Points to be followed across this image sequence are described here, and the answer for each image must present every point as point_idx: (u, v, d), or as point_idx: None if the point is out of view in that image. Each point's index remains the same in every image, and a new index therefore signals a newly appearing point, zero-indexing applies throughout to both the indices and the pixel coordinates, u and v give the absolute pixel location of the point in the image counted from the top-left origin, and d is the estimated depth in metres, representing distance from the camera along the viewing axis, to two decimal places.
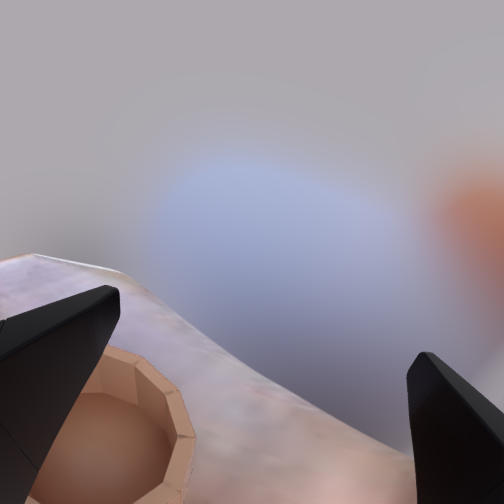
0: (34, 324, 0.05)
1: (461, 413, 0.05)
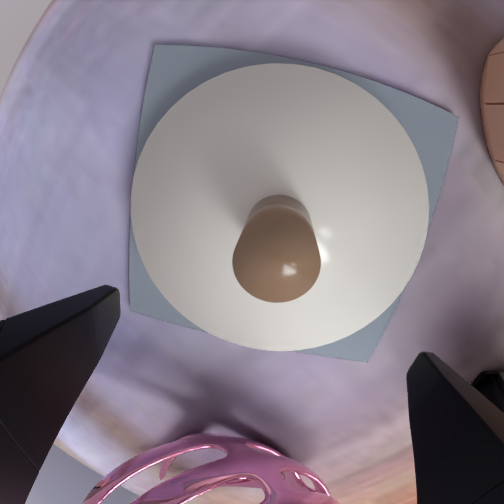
0: (34, 324, 0.05)
1: (461, 413, 0.05)
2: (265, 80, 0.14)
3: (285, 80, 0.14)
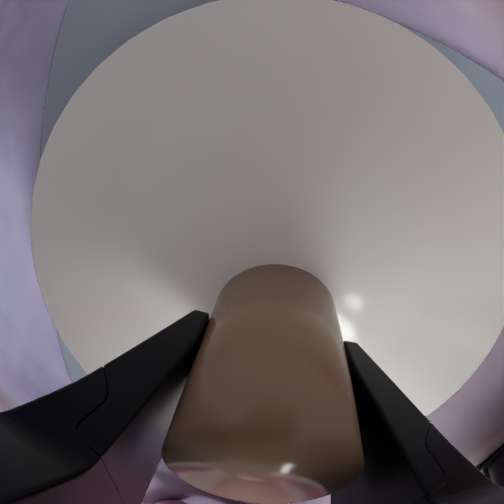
0: (145, 369, 0.05)
1: (372, 413, 0.05)
2: (246, 25, 0.06)
3: (289, 25, 0.06)
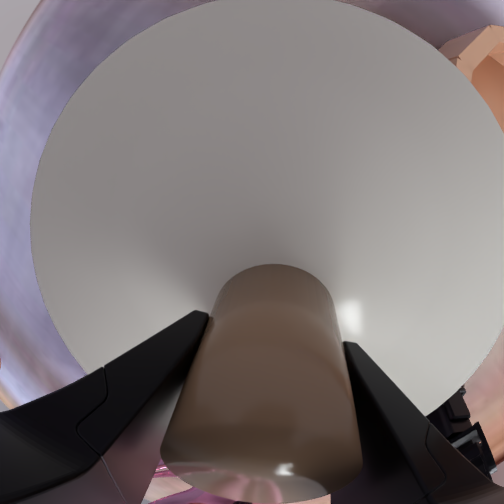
0: (145, 369, 0.05)
1: (372, 413, 0.05)
2: (244, 25, 0.06)
3: (288, 24, 0.06)
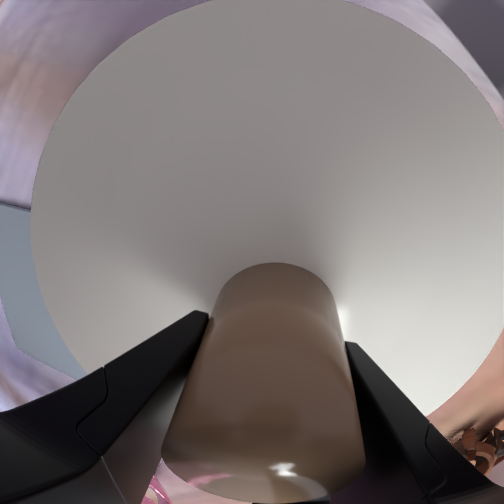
0: (145, 369, 0.05)
1: (373, 413, 0.05)
2: (246, 23, 0.06)
3: (290, 23, 0.06)
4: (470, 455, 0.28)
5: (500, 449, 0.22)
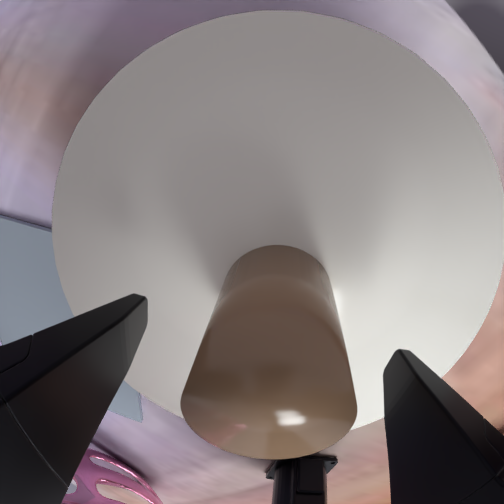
0: (66, 339, 0.05)
1: (435, 414, 0.05)
2: (252, 38, 0.07)
3: (290, 37, 0.07)
4: None
5: None
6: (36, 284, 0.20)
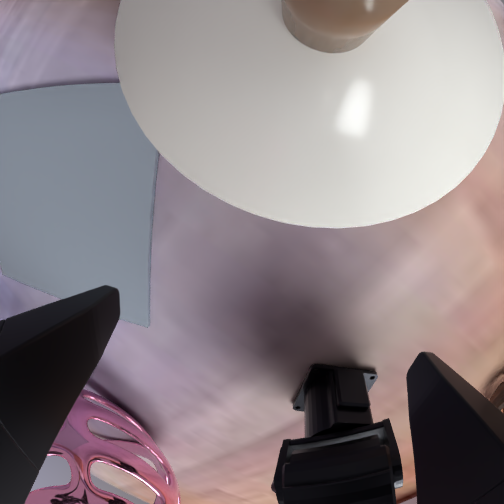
0: (34, 324, 0.05)
1: (460, 413, 0.05)
2: None
3: None
4: None
5: None
6: (52, 150, 0.19)
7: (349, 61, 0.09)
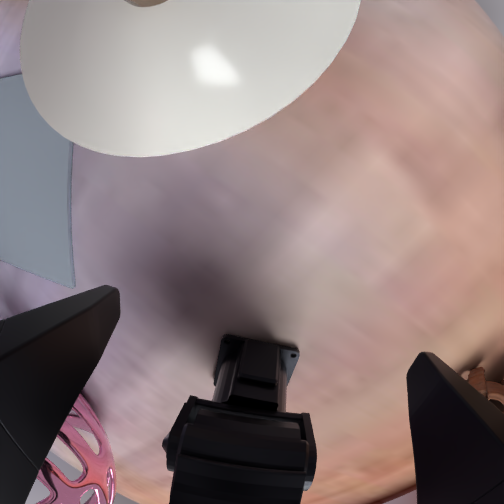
0: (34, 324, 0.05)
1: (461, 412, 0.05)
2: None
3: None
4: None
5: None
6: (2, 130, 0.18)
7: (169, 7, 0.09)
